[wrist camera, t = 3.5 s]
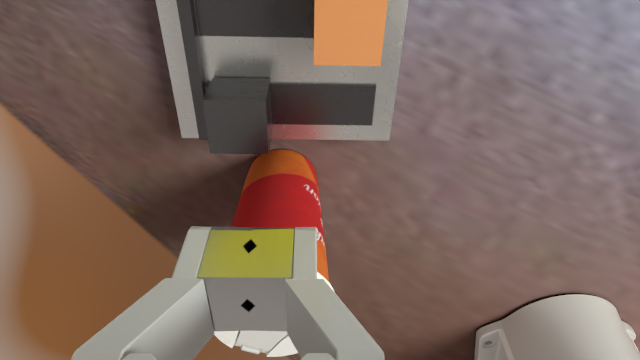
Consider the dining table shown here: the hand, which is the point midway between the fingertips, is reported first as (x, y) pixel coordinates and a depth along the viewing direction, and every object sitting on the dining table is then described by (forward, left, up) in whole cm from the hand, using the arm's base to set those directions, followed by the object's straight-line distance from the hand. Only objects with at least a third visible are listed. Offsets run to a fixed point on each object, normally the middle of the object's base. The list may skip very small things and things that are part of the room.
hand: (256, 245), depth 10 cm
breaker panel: (-3, +1, -23) cm, 23 cm away
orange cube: (0, -3, -21) cm, 21 cm away
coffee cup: (-14, +1, -23) cm, 27 cm away
